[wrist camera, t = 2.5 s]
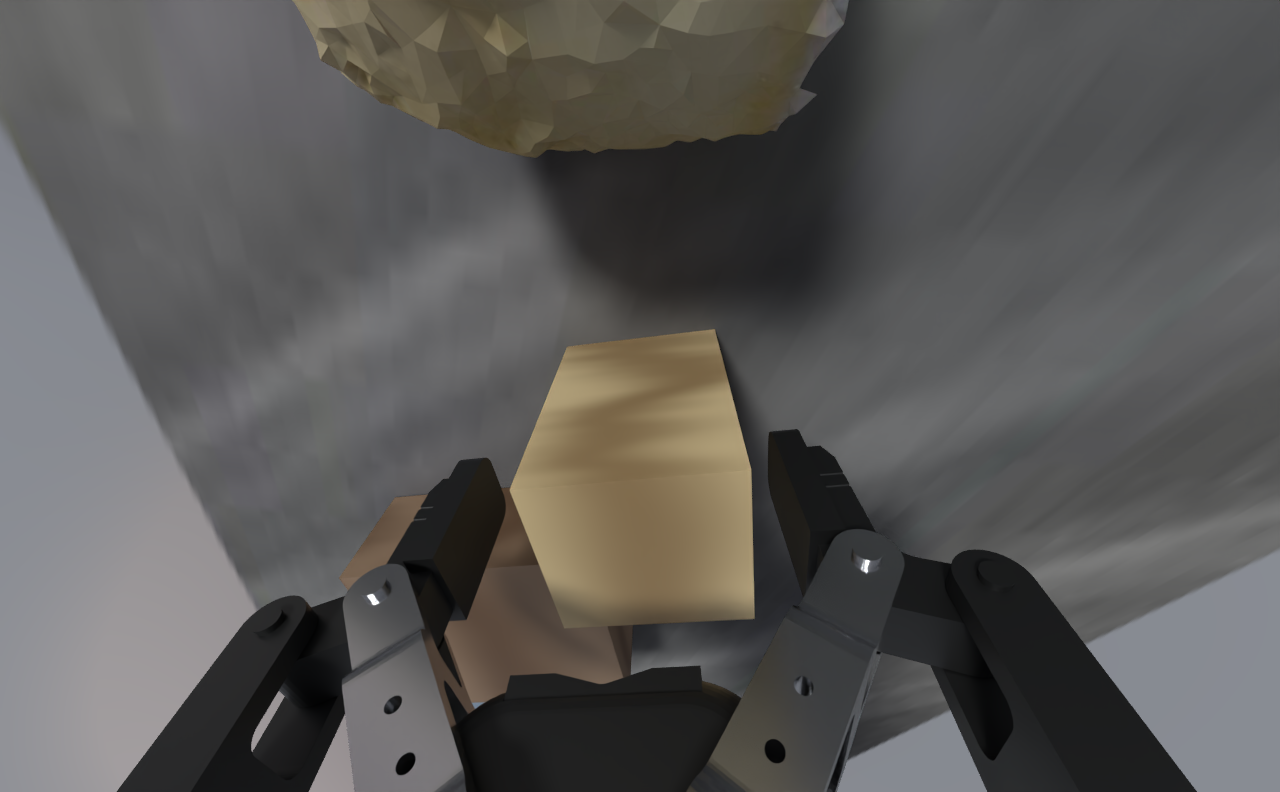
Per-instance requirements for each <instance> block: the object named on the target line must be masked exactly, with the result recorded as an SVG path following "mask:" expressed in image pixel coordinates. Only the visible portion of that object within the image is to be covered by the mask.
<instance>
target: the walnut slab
mask: <svg viewBox="0 0 1280 792" xmlns="http://www.w3.org/2000/svg"><path fill="white" fill-rule="evenodd" d="M510 488H511V487H510ZM510 488H501V489H502V491H503V494H504V497H505V502H506V512H505V517H504V520H503V523H502V526H501V528H500V531H499V534H498V536H497V539H496V542H495V545H494V547H493V550H492V553H491V555H490V558H489V561H488V563H487V566H486V569H485V572H484V574H483V577H482V580H481V582H480V585H479V588H478V591H477V593H476V596H475V599H474V601H473V604H472V607H471V609H470V612H469V615H468V618H467V620H462V621H449V623H448V625H447V628H446V630H445V634H446V636H447V638H448V640H449V643H450V646H451V649H452V651H453V654H454V657H455V660H456V662H457V665H458V668H459V670H460V673H461V676H462V679H463V681H464V684H465V687H466V690H467V692H468V695H469V697H470V700H471V702H472V703H478V702H486V701H488V700H490V699H492V698H494V697H496V696H498V695H500V694H503V693H506V690H507V686H508V682H509V678H510V675H529V674H549V673H557V674H561V675H565V676H569V677H573V678H577V679H581V680H585V681H589V682H593V683H597V684H605V683H609V682H612V681H615V680H618V679H621V678H624V677H627V676H630V674H631V654H632V634H633V625H621V626H601V627H581V628H564V626H563V624H562V621H561V619H560V616H559V614H558V611H557V609H556V606H555V604H554V601H553V599H552V596H551V594H550V591H549V588H548V586H547V583H546V581H545V578H544V576H543V573H542V571H541V568H540V566H539V563H538V561H537V558H536V556H535V553H534V551H533V548H532V546H531V543H530V541H529V538H528V536H527V533H526V530H525V528H524V525H523V523H522V520H521V518H520V515H519V513H518V510H517V508H516V505H515V503H514V500H513V498H512V495H511V493H510ZM426 497H427V495H418V496H406V497H395V498H394V500H393V501H392V503H391V504H390V506H389V507H388V508H387V510H386V511H385V513H384V514H383V516H382V517H381V518H380V520H379V521H378V523H377V524H376V526H375V527H374V529H373V530H372V531H371V533H370V534H369V536H368V537H367V539H366V540H365V541H364V543H363V544H362V546H361V547H360V549H359V550H358V552H357V553H356V554H355V556H354V557H353V559H352V560H351V562H350V563H349V564H348V566H347V567H346V569H345V570H344V572H343V573H342V575H341V576H340V577H339V579H340V580H341V582H342V583H343V584H344V585H345V587H346V588H347V589H348V590H349V588H350V587H351V586H352V585H353V584H354V583H355V582H356V581H357V580H358V579H359V578H360V577H361V576H363V575H364V574H366V573H367V572H369V571H370V570H372V569H374V568H377V567H379V566H382V565H386V564H387V562H388V560H389V559H390V557H391V555H392V554H393V552H394V550H395V549H396V547H397V545H398V544H399V542H400V540H401V539H402V537H403V535H404V534H405V532H406V530H407V528H408V527H409V525H410V523H411V522H413V521H414V519H413V518H414V517H415V515H416V513H417V512H418V510H420V509H421V505H422V503H423V502H424V500H425V498H426Z"/></svg>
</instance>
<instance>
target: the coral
mask: <svg viewBox="0 0 1280 792" xmlns="http://www.w3.org/2000/svg"><path fill="white" fill-rule="evenodd" d="M292 1H293V2H294V3H295V4H296V6H297V7H298V9H299V11H300V13H301V14H302V16H303V18H304V20H305V22H306V24H307V26H308V28H309V30H310V32H311V33H312V35H313V37H314V39H315V41H316V43H317V47H318V52H319V56H320V60H321V61H323V62H325V63H327V64H328V65H330V66H332V67H334V68H336V69H337V70H339V71H341V73H342V74H343V75H344V76H346V77H347V78H348V79H349V80H350V81H351V82H352V83H354V84H355V85H356V86H357V87H359V88H361V89H364V90H365V91H367V92H368V93H369V94H370V95H372V96H373V97H374V98H375V99H377V100H378V101H379V102H380V103H383V104H387V105H392V106H394V107H395V108H397V109H399V110H401V111H403V112H405V113H407V114H409V115H411V116H413V117H415V118H417V119H419V120H421V121H423V122H426V123H428V124H430V125H432V126H433V127H435V128H437V129H449V130H452V131H455V132H457V133H458V134H460V135H462V136H464V137H466V138H468V139H470V140H472V141H475V142H477V143H480V144H482V145H484V146H487V147H489V148H493V149H497V150H501V151H505V152H509V153H513V154H517V155H522V156H526V157H534V158H537V157H538V156H540V155H541V154H542V153H544V152H545V151H546V150H560V151H582V150H584V149H585V150H588V151H590V152H592V153H597V152H600V151H603V150H607V149H650V148H661V147H666V146H668V145H670V144H672V143H673V142H675V141H685V142H693V141H696V140H698V139H700V138H705V139H709V140H712V141H718V140H720V139H722V138H725V137H729V136H733V135H738V134H747V135H762V134H764V133H766V132H768V131H770V130H771V131H777V130H778V128H779V126H780V125H781V124H782V122H783V121H784V120H785V119H786V118H787V117H788V116H791V115H794V114H796V113H798V112H799V111H800V110H801V109H802V108H803V107H804V106H805V105H806V104H807V103H808V102H810V101H811V100H812V99H813V98H814V97H815V96H816V95H817V94H815V93H812V92H809V91H806V90H804V89H801V88H800V86H801V84H802V82H803V80H804V79H805V77H806V75H807V73H808V72H809V70H810V68H811V66H812V64H813V63H814V61H815V60H816V59H817V57H818V56H819V55H820V54H821V52H822V51H823V50H824V49H825V47H826V46H827V45H828V44H829V42H830V41H831V40H832V39H833V37H834V36H835V35H836V34H837V32H838V31H839V30H840V29H841V27H842V26H843V25H844V22H845V17H846V12H847V7H848V2H849V0H292Z"/></svg>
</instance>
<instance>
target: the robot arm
mask: <svg viewBox="0 0 1280 792" xmlns="http://www.w3.org/2000/svg"><path fill="white" fill-rule="evenodd" d="M768 483H769V489H770V494H771V498H772V501H773V504H774V507H775V510H776V513H777V516H778V520H779V523H780V526H781V529H782V532H783V535H784V538H785V541H786V544H787V548H788V551H789V554H790V557H791V560H792V563H793V566H794V569H795V573H796V576H797V579H798V582H799V585H800V588H801V591H802V594H803V599H802V601H801V603H800V605H799V606H798V607H796V606H792V607H791V608H790V609H789V611H788V612H787V614H786V616H785V617H784V619H783V621H782V623H781V625H780V627H779V629H778V631H777V633H776V634H775V636H774V638H773V640H772V642H771V644H770V646H769V648H768V649H767V651H766V653H765V655H764V657H763V659H762V661H761V663H760V665H759V666H758V668H757V670H756V672H755V674H754V676H753V678H752V680H751V682H750V683H749V685H748V687H747V689H746V691H745V693H744V695H743V697H742V698H740V697H739V696H737V695H736V694H734V693H732V692H730V691H729V690H727V689H725V688H722V687H720V686H717V685H715V684H712V683H708V682H704V681H702V677H701V668H700V666H686V667H666V668H651V669H648V670H645V671H642V672H639V673H636V674H633V675H630V676H627V677H624V678H621V679H618V680H615V681H612V682H609V683H605V684H597V683H593V682H589V681H585V680H581V679H577V678H573V677H569V676H565V675H561V674H557V673H549V674H529V675H510V678H509V682H508V686H507V690H506V693H503V694H500V695H498V696H496V697H494V698H492V699H490V700H488V701H486V702H485V703H483V704H481V705H480V706H478V707H477V708H476V709H475V708H474V706H473V704H472V702H471V700H470V697H469V695H468V692H467V690H466V687H465V684H464V681H463V679H462V676H461V673H460V670H459V668H458V665H457V662H456V660H455V657H454V654H453V651H452V649H451V646H450V643H449V640H448V638H447V636H446V634H445V630H446V628H447V625H448V623H449V621H462V620H467V618H468V615H469V612H470V609H471V607H472V604H473V601H474V599H475V596H476V593H477V591H478V588H479V585H480V582H481V580H482V577H483V574H484V572H485V569H486V566H487V563H488V561H489V558H490V555H491V553H492V550H493V547H494V545H495V542H496V539H497V536H498V534H499V531H500V528H501V526H502V523H503V520H504V517H505V512H506V502H505V497H504V494H503V491H502V489H501V486H500V484H499V481H498V479H497V476H496V474H495V471H494V468H493V466H492V463H491V461H490V460H489V459H488V458H478V459H468V460H461V461H459V462H458V464H457V465H456V467H455V469H454V470H453V472H452V474H451V476H450V478H449V479H443V480H442V481H441V482H440V483H439V484H438V485H437V486H435V487H434V488H433V489H432V490H431V491H430V492H429V493H428V495H427V497H426V498H425V500H424V502H423V503H422V505H421V509H420V510H418V512H417V513H416V515H415V517H414V518H413V519H414V521H413V522H411V523H410V525H409V527H408V528H407V530H406V532H405V534H404V535H403V537H402V539H401V540H400V542H399V544H398V545H397V547H396V549H395V550H394V552H393V554H392V555H391V557H390V559H389V560H388V562H387V564H386V565H382V566H379V567H377V568H374V569H372V570H370V571H369V572H367V573H366V574H364V575H363V576H361V577H360V578H359V579H358V580H357V581H356V582H355V583H354V584H353V585H352V586H351V587H350V588H349V590H348V591H347V593H346V595H345V596H344V597H341V598H338V599H335V600H332V601H329V602H326V603H323V604H320V605H317V606H314V607H312V608H311V607H310V606H309V604H308V603H307V602H306V601H305V600H304V599H303V598H302V597H300V596H287V597H283V598H280V599H277V600H275V601H273V602H271V603H269V604H267V605H266V606H264V607H262V608H261V609H260V610H258V611H257V612H256V613H254V614H253V615H252V616H251V617H250V618H249V619H248V620H247V621H246V622H245V623H244V624H243V625H242V627H241V628H240V629H239V630H238V632H237V633H236V634H235V636H234V637H233V638H232V640H231V641H230V642H229V644H228V645H227V646H226V648H225V649H224V650H223V652H222V653H221V654H220V655H219V657H218V658H217V659H216V661H215V662H214V664H213V665H212V666H211V667H210V669H209V670H208V671H207V673H206V674H205V675H204V677H203V678H202V679H201V681H200V682H199V683H198V685H197V686H196V687H195V689H194V690H193V691H192V693H191V694H190V695H189V697H188V698H187V699H186V701H185V702H184V703H183V704H182V706H181V707H180V708H179V710H178V711H177V713H176V714H175V715H174V716H173V718H172V719H171V721H170V722H169V723H168V724H167V726H166V727H165V728H164V730H163V731H162V732H161V734H160V735H159V736H158V738H157V739H156V740H155V742H154V743H153V744H152V746H151V747H150V748H149V750H148V751H147V752H146V754H145V755H144V756H143V758H142V759H141V760H140V761H139V763H138V764H137V765H136V767H135V768H134V769H133V771H132V772H131V773H130V775H129V776H128V777H127V779H126V780H125V781H124V783H123V784H122V785H121V787H120V788H119V789H118V791H117V792H309V790H310V787H311V785H312V783H313V781H314V779H315V777H316V775H317V773H318V770H319V768H320V766H321V764H322V762H323V760H324V758H325V755H326V753H327V751H328V749H329V747H330V745H331V742H332V740H333V738H334V736H335V734H336V732H337V730H338V727H339V725H340V723H341V721H342V719H343V717H344V714H345V716H346V724H347V732H348V740H349V748H350V757H351V764H352V773H353V781H354V790H355V792H837V789H838V786H839V783H840V780H841V777H842V774H843V771H844V768H845V765H846V762H847V759H848V756H849V753H850V749H851V746H852V743H853V740H854V736H855V733H856V729H857V726H858V723H859V720H860V717H861V714H862V711H863V708H864V705H865V702H866V699H867V696H868V693H869V690H870V687H871V684H872V681H873V678H874V675H875V672H876V669H877V666H878V663H879V660H880V657H881V654H882V653H886V654H890V655H894V656H898V657H902V658H906V659H909V660H913V661H917V662H921V663H925V664H929V665H931V668H932V670H933V672H934V674H935V676H936V679H937V681H938V683H939V685H940V688H941V690H942V692H943V694H944V696H945V699H946V701H947V703H948V705H949V708H950V710H951V712H952V714H953V716H954V718H955V721H956V723H957V725H958V728H959V730H960V732H961V734H962V736H963V739H964V741H965V743H966V745H967V747H968V750H969V752H970V754H971V756H972V758H973V761H974V763H975V765H976V767H977V770H978V772H979V774H980V776H981V779H982V781H983V783H984V785H985V787H986V790H987V792H1197V791H1196V790H1195V789H1194V787H1193V786H1192V785H1191V783H1190V782H1189V781H1188V779H1187V778H1186V777H1185V775H1184V774H1183V773H1182V771H1181V770H1180V769H1179V768H1178V766H1177V765H1176V764H1175V762H1174V761H1173V760H1172V758H1171V757H1170V756H1169V755H1168V753H1167V752H1166V751H1165V749H1164V748H1163V747H1162V745H1161V744H1160V743H1159V741H1158V740H1157V739H1156V737H1155V736H1154V735H1153V733H1152V732H1151V731H1150V729H1149V728H1148V727H1147V725H1146V724H1145V723H1144V722H1143V720H1142V719H1141V718H1140V716H1139V715H1138V714H1137V712H1136V711H1135V710H1134V708H1133V707H1132V706H1131V704H1130V703H1129V702H1128V701H1127V699H1126V698H1125V697H1124V695H1123V694H1122V693H1121V691H1120V690H1119V689H1118V688H1117V686H1116V685H1115V683H1114V682H1113V681H1112V680H1111V678H1110V677H1109V676H1108V674H1107V673H1106V672H1105V670H1104V669H1103V668H1102V666H1101V665H1100V664H1099V662H1098V661H1097V660H1096V658H1095V657H1094V656H1093V655H1092V653H1091V652H1090V651H1089V649H1088V648H1087V647H1086V645H1085V644H1084V643H1083V641H1082V640H1081V639H1080V637H1079V636H1078V635H1077V633H1076V632H1075V631H1074V630H1073V628H1072V627H1071V626H1070V624H1069V623H1068V622H1067V620H1066V619H1065V618H1064V616H1063V615H1062V614H1061V612H1060V611H1059V610H1058V608H1057V607H1056V606H1055V605H1054V603H1053V602H1052V601H1051V599H1050V598H1049V597H1048V595H1047V594H1046V593H1045V591H1044V590H1043V589H1042V587H1041V586H1040V585H1039V584H1038V582H1037V581H1036V580H1035V578H1034V577H1033V576H1032V575H1031V574H1030V573H1029V572H1028V571H1027V570H1026V569H1025V568H1024V567H1022V566H1021V565H1019V564H1018V563H1016V562H1015V561H1013V560H1011V559H1009V558H1007V557H1005V556H1003V555H1000V554H997V553H994V552H990V551H985V550H967V551H964V552H961V553H959V554H958V555H957V556H955V558H954V559H953V561H952V564H949V563H943V562H938V561H933V560H927V559H922V558H917V557H913V556H910V555H907V554H904V553H902V552H901V551H900V550H899V549H898V547H897V546H896V545H895V544H894V543H893V542H892V541H890V540H889V539H888V538H886V537H884V536H882V535H880V534H878V533H876V531H875V530H874V528H873V526H872V524H871V523H870V521H869V519H868V517H867V515H866V513H865V512H864V510H863V508H862V506H861V504H860V502H859V501H858V499H857V497H856V495H855V493H854V492H853V490H852V488H851V486H849V482H848V481H847V479H846V477H845V475H844V474H843V471H842V470H841V468H840V466H839V464H838V462H837V460H836V459H835V457H834V456H832V455H831V454H830V453H829V452H827V451H826V450H825V449H824V448H822V447H821V446H812V447H807V446H806V444H805V442H804V440H803V438H802V436H801V434H800V432H799V430H797V429H794V430H783V431H773V432H769V438H768ZM278 691H280V692H281V693H282V694H283V695H284V696H285V697H284V699H283V701H282V702H281V704H280V706H279V708H278V709H277V711H276V713H275V715H274V716H273V718H272V720H271V721H270V723H269V725H268V726H267V728H266V730H265V731H264V733H263V735H262V737H261V738H260V740H259V742H258V743H257V745H256V747H255V749H254V750H253V752H252V751H251V742H252V737H253V734H254V732H255V729H256V728H257V726H258V724H259V722H260V721H261V719H262V718H263V716H264V714H265V712H266V711H267V709H268V707H269V706H270V704H271V702H272V701H273V699H274V697H275V696H276V694H277V693H278Z"/></svg>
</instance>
